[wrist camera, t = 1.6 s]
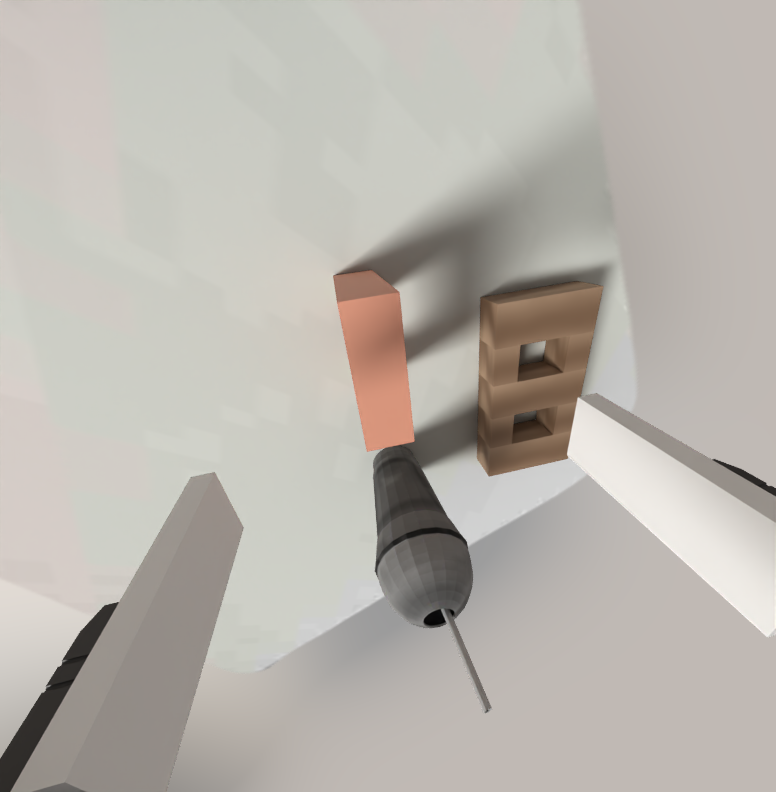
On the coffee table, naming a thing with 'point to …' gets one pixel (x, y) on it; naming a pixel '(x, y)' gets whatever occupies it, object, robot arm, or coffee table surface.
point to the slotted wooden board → (532, 372)
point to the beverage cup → (420, 552)
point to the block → (376, 357)
